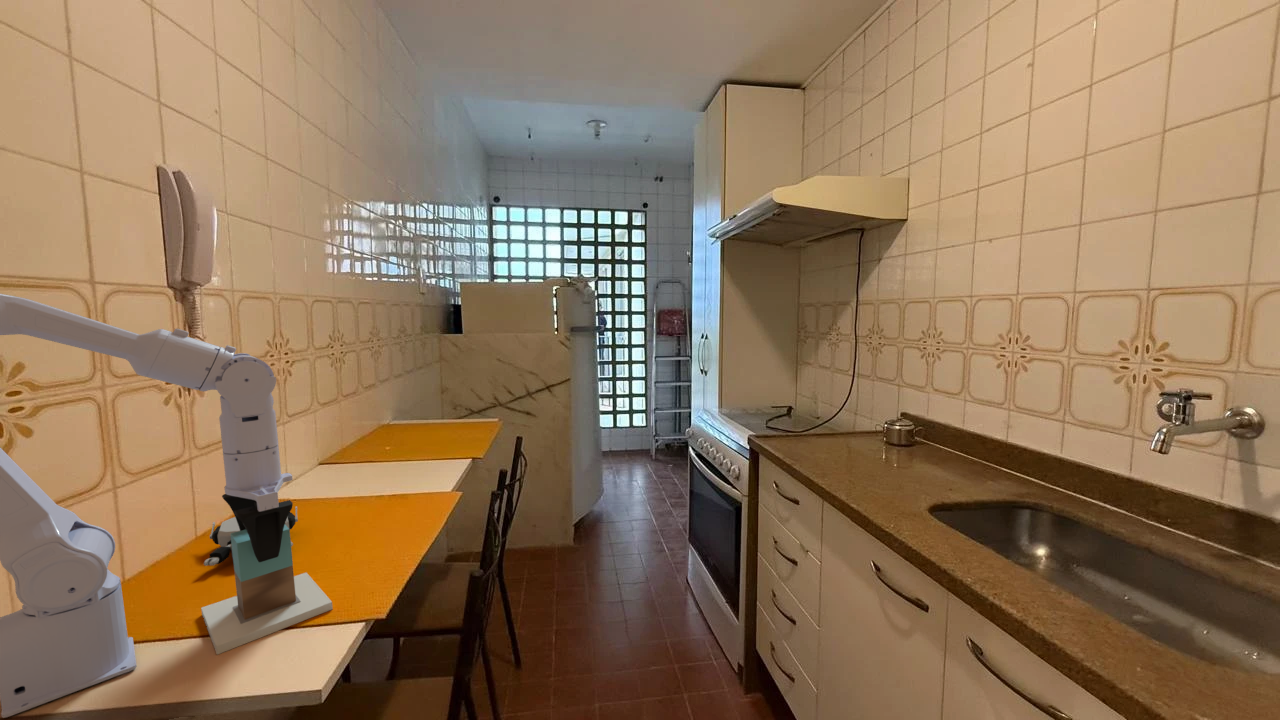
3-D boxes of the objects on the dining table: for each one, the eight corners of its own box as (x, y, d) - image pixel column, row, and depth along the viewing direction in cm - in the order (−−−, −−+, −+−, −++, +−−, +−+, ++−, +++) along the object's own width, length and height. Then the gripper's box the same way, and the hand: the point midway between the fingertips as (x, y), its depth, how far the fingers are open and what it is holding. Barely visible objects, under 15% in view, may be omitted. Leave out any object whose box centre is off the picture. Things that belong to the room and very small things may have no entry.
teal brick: (241, 582, 64) (237, 543, 63) (234, 570, 67) (230, 533, 66) (292, 565, 68) (289, 529, 67) (284, 554, 71) (280, 520, 70)
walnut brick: (244, 619, 64) (240, 581, 64) (238, 606, 67) (234, 569, 67) (296, 601, 68) (292, 565, 68) (287, 589, 71) (284, 554, 71)
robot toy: (297, 561, 84) (299, 524, 96) (295, 535, 83) (297, 501, 96) (200, 584, 77) (215, 541, 90) (197, 556, 77) (212, 517, 89)
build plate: (217, 654, 59) (216, 645, 59) (202, 614, 67) (201, 606, 67) (332, 609, 68) (332, 601, 68) (306, 578, 76) (306, 571, 76)
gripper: (303, 450, 63) (312, 555, 65) (275, 434, 73) (283, 525, 75) (231, 464, 58) (243, 577, 60) (211, 444, 68) (222, 541, 70)
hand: (261, 549), depth 67 cm, fingers open, 7 cm apart
